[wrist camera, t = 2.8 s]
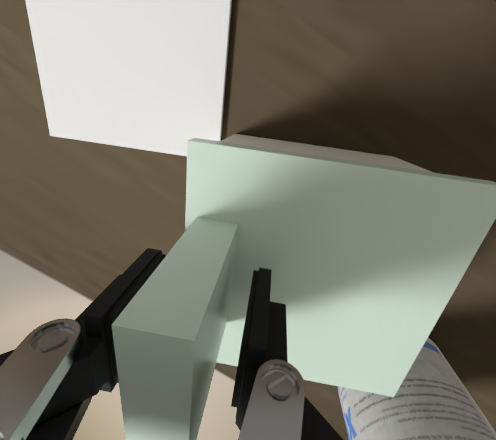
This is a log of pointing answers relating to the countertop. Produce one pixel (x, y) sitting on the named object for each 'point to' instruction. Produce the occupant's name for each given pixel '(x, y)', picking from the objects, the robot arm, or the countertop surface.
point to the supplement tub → (417, 406)
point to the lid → (295, 275)
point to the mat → (132, 70)
